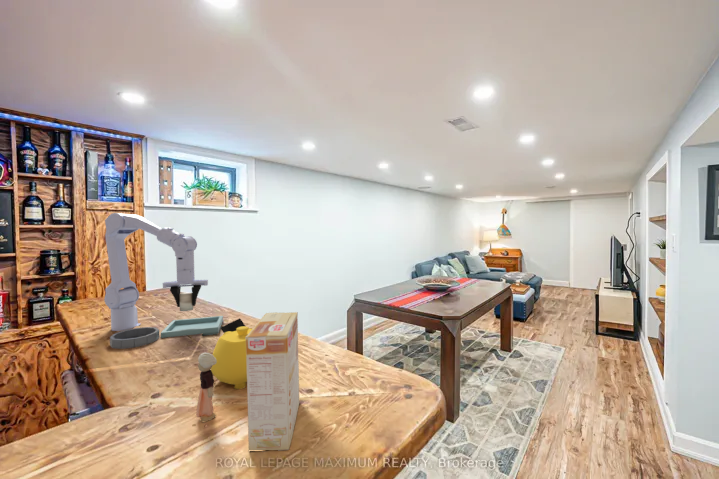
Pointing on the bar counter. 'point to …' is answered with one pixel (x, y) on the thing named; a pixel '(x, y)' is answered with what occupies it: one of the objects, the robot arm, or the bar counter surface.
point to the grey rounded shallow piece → (134, 337)
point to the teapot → (231, 357)
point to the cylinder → (185, 301)
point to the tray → (193, 327)
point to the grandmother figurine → (206, 387)
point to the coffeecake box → (272, 381)
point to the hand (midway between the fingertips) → (186, 305)
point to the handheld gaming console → (232, 326)
